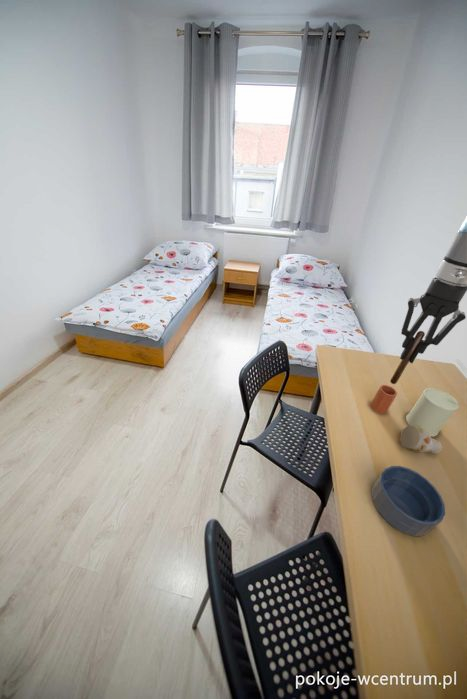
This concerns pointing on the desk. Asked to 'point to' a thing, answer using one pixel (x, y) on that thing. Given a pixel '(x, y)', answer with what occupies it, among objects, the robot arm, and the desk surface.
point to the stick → (407, 357)
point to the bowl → (408, 501)
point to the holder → (383, 399)
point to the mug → (419, 440)
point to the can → (432, 411)
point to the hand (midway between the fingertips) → (406, 358)
